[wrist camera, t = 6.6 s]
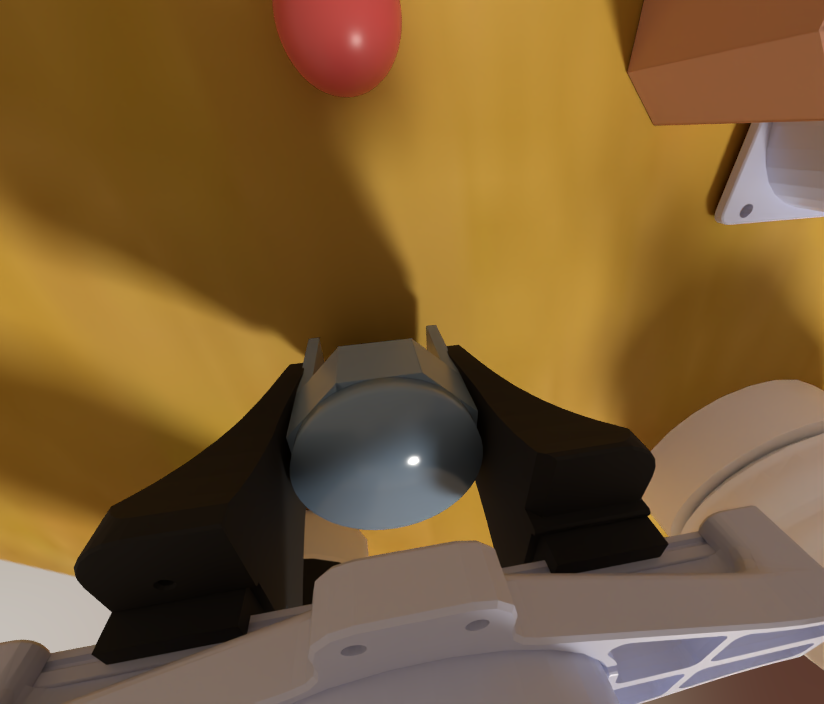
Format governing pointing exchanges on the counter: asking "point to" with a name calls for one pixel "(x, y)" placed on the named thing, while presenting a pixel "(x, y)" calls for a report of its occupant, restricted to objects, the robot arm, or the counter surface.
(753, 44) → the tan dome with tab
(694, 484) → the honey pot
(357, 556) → the supplement can
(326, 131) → the counter surface
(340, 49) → the red marble
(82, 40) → the counter surface
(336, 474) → the slate-blue dome with prongs
